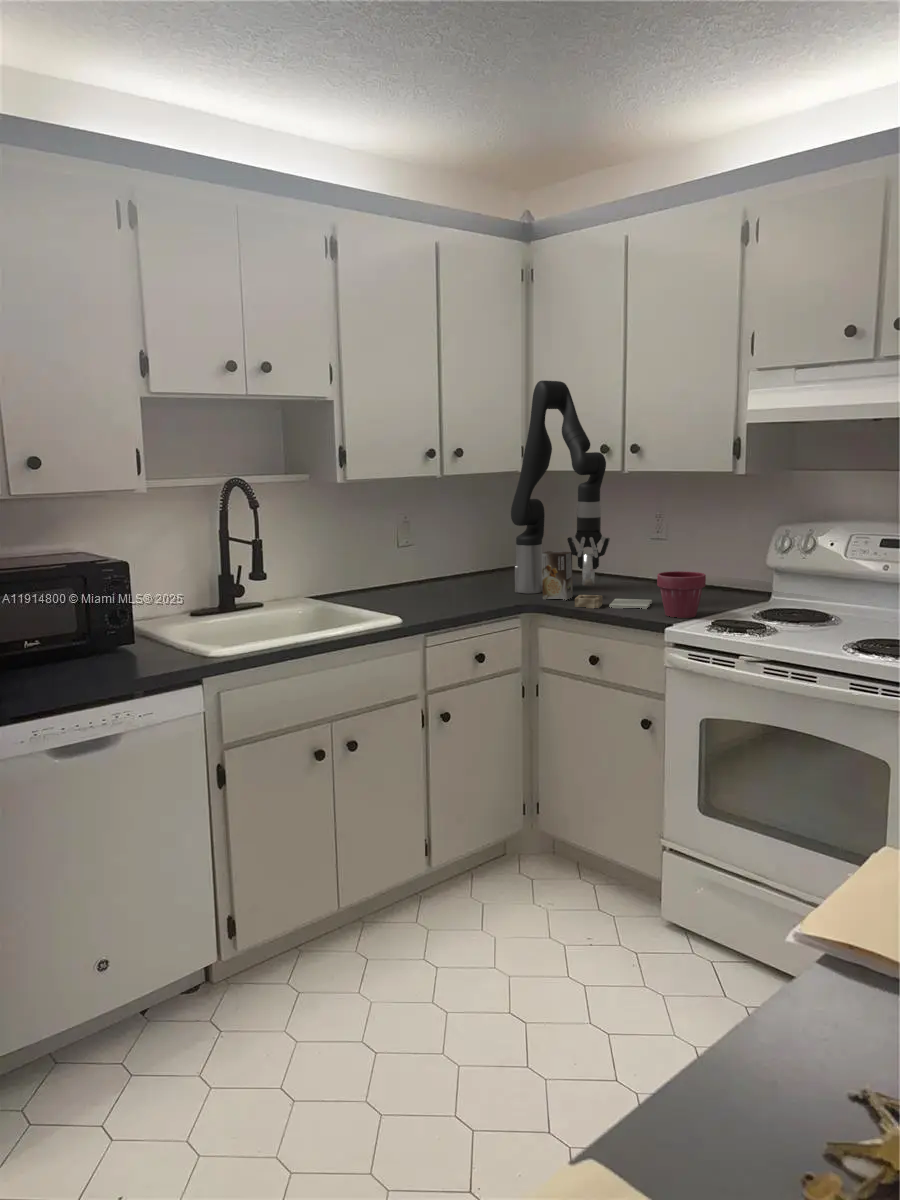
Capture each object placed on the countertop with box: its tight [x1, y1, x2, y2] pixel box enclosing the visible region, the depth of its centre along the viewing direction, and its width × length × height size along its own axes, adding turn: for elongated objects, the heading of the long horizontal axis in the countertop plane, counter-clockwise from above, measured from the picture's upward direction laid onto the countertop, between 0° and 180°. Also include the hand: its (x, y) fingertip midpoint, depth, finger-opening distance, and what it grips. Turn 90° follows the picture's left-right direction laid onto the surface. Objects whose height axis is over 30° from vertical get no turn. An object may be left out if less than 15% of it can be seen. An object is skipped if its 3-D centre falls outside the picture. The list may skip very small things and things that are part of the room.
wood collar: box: [574, 594, 603, 609], centre depth 289 cm, size 8×8×3 cm
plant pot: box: [656, 570, 707, 619], centre depth 268 cm, size 14×14×13 cm
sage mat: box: [608, 598, 653, 610], centre depth 288 cm, size 12×12×1 cm
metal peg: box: [581, 552, 596, 587], centre depth 287 cm, size 4×4×10 cm
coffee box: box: [542, 550, 574, 601], centre depth 303 cm, size 9×6×16 cm
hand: (588, 568), depth 287 cm, fingers closed on metal peg, 4 cm apart
